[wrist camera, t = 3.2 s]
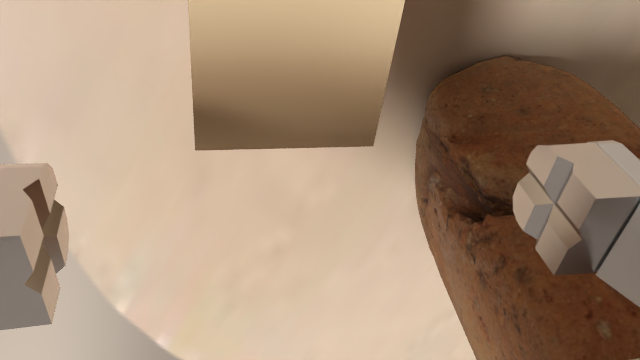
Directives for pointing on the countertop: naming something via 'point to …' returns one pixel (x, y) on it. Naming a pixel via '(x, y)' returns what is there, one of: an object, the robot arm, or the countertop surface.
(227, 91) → the peg
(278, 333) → the countertop surface
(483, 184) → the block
